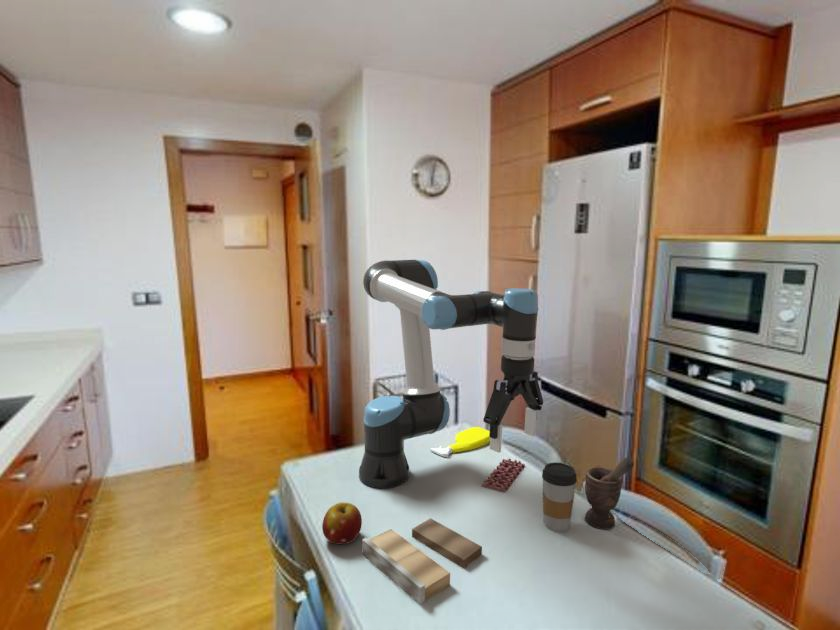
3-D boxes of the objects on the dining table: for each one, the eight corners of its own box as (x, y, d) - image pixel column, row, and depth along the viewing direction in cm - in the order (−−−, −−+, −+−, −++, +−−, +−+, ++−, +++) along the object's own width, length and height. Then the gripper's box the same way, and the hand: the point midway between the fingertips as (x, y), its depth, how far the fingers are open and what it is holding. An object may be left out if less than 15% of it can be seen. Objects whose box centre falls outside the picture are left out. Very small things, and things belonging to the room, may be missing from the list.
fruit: (343, 555, 111) (343, 523, 109) (314, 542, 115) (313, 511, 114) (369, 534, 119) (369, 503, 117) (341, 522, 123) (340, 493, 122)
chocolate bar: (525, 467, 155) (525, 461, 154) (505, 494, 138) (505, 488, 138) (503, 461, 158) (503, 456, 158) (481, 488, 142) (481, 481, 142)
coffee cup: (575, 537, 118) (579, 479, 116) (539, 532, 120) (543, 475, 117) (571, 517, 126) (575, 463, 124) (538, 513, 128) (541, 460, 126)
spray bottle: (497, 441, 174) (450, 463, 157) (474, 432, 182) (426, 452, 165) (497, 433, 173) (450, 454, 157) (474, 424, 181) (426, 444, 165)
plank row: (362, 553, 111) (362, 539, 111) (391, 539, 117) (391, 525, 116) (420, 604, 96) (420, 587, 96) (449, 585, 102) (450, 569, 101)
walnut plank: (411, 538, 118) (412, 529, 117) (430, 527, 122) (430, 518, 122) (463, 570, 107) (464, 559, 106) (481, 556, 112) (482, 546, 111)
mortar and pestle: (635, 525, 123) (641, 450, 120) (625, 541, 117) (631, 463, 114) (589, 508, 131) (594, 438, 127) (577, 523, 124) (582, 449, 121)
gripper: (497, 369, 102) (492, 463, 106) (561, 350, 119) (555, 432, 123) (469, 361, 107) (466, 451, 111) (535, 344, 124) (530, 423, 128)
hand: (513, 442), depth 117 cm, fingers open, 13 cm apart
